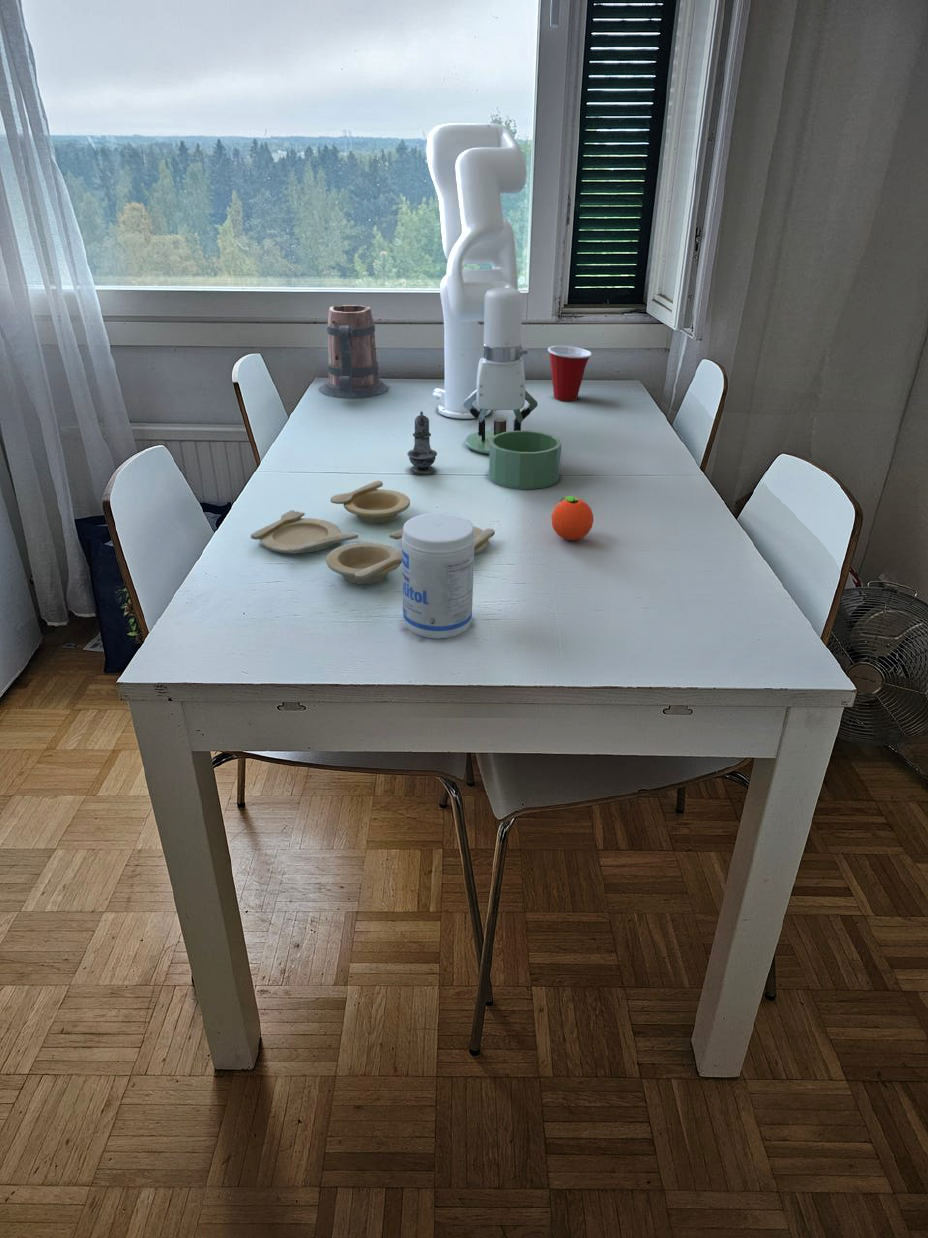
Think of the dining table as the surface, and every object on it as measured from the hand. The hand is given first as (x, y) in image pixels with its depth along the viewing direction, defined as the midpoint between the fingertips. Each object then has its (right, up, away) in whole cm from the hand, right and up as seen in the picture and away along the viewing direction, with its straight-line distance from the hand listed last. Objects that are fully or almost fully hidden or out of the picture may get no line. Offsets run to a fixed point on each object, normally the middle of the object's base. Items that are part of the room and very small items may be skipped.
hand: (499, 438), depth 185 cm
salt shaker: (-16, -9, -13) cm, 22 cm away
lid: (0, -1, 0) cm, 1 cm away
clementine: (+10, -25, -40) cm, 48 cm away
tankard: (-36, +19, +36) cm, 54 cm away
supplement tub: (-11, -39, -65) cm, 77 cm away
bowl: (+4, -11, -15) cm, 19 cm away
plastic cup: (+18, +17, +33) cm, 41 cm away
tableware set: (-22, -26, -43) cm, 55 cm away
